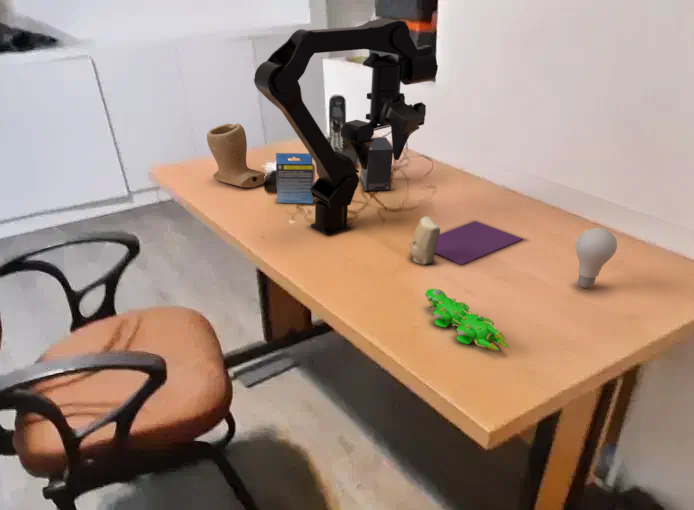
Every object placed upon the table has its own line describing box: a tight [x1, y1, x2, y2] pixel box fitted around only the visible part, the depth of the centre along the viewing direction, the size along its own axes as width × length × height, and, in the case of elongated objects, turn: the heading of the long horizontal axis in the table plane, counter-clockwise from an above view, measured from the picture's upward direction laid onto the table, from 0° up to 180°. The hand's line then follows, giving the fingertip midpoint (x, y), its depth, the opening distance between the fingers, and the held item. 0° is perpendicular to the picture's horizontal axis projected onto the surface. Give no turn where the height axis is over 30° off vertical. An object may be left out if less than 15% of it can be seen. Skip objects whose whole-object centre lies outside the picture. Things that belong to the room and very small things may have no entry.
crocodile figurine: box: [424, 288, 509, 352], centre depth 100 cm, size 7×18×4 cm, turn 24°
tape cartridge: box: [275, 152, 316, 205], centre depth 150 cm, size 9×4×12 cm, turn 76°
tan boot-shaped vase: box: [206, 123, 267, 188], centre depth 162 cm, size 15×12×15 cm
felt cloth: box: [434, 220, 524, 266], centre depth 128 cm, size 18×12×1 cm, turn 122°
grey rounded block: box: [409, 216, 441, 266], centre depth 120 cm, size 6×5×8 cm
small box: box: [359, 137, 394, 192], centre depth 156 cm, size 11×6×10 cm, turn 179°
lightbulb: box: [574, 227, 618, 289], centre depth 107 cm, size 6×6×11 cm
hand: (380, 164), depth 135 cm, fingers open, 9 cm apart
